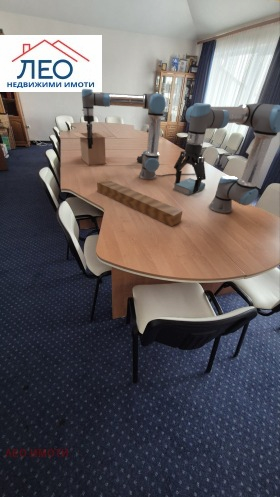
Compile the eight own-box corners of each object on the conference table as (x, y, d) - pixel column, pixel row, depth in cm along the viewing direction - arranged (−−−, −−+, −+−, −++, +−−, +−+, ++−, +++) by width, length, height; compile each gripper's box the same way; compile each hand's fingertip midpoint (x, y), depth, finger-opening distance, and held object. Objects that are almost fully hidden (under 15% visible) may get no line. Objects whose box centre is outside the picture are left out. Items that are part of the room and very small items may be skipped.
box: (116, 165, 229) (116, 136, 213) (83, 168, 214) (80, 137, 198) (102, 154, 259) (101, 128, 243) (71, 156, 244) (68, 129, 228)
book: (188, 183, 198) (190, 178, 195) (204, 189, 190) (205, 183, 187) (173, 189, 185) (174, 183, 182) (188, 195, 176) (190, 189, 173)
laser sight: (156, 165, 238) (157, 155, 232) (135, 163, 241) (136, 153, 235) (157, 163, 245) (158, 153, 240) (137, 160, 248) (138, 151, 242)
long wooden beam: (97, 191, 172) (96, 182, 168) (107, 188, 179) (106, 179, 174) (171, 226, 136) (173, 215, 131) (180, 221, 142) (182, 210, 137)
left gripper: (84, 112, 170) (87, 142, 182) (81, 116, 150) (84, 150, 162) (94, 113, 171) (96, 143, 183) (93, 117, 151) (94, 150, 163)
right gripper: (171, 138, 108) (165, 180, 121) (209, 150, 92) (198, 198, 104) (182, 137, 112) (175, 179, 124) (221, 148, 95) (209, 195, 108)
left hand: (90, 146), depth 173 cm, fingers open, 13 cm apart
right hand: (185, 187), depth 114 cm, fingers open, 13 cm apart
